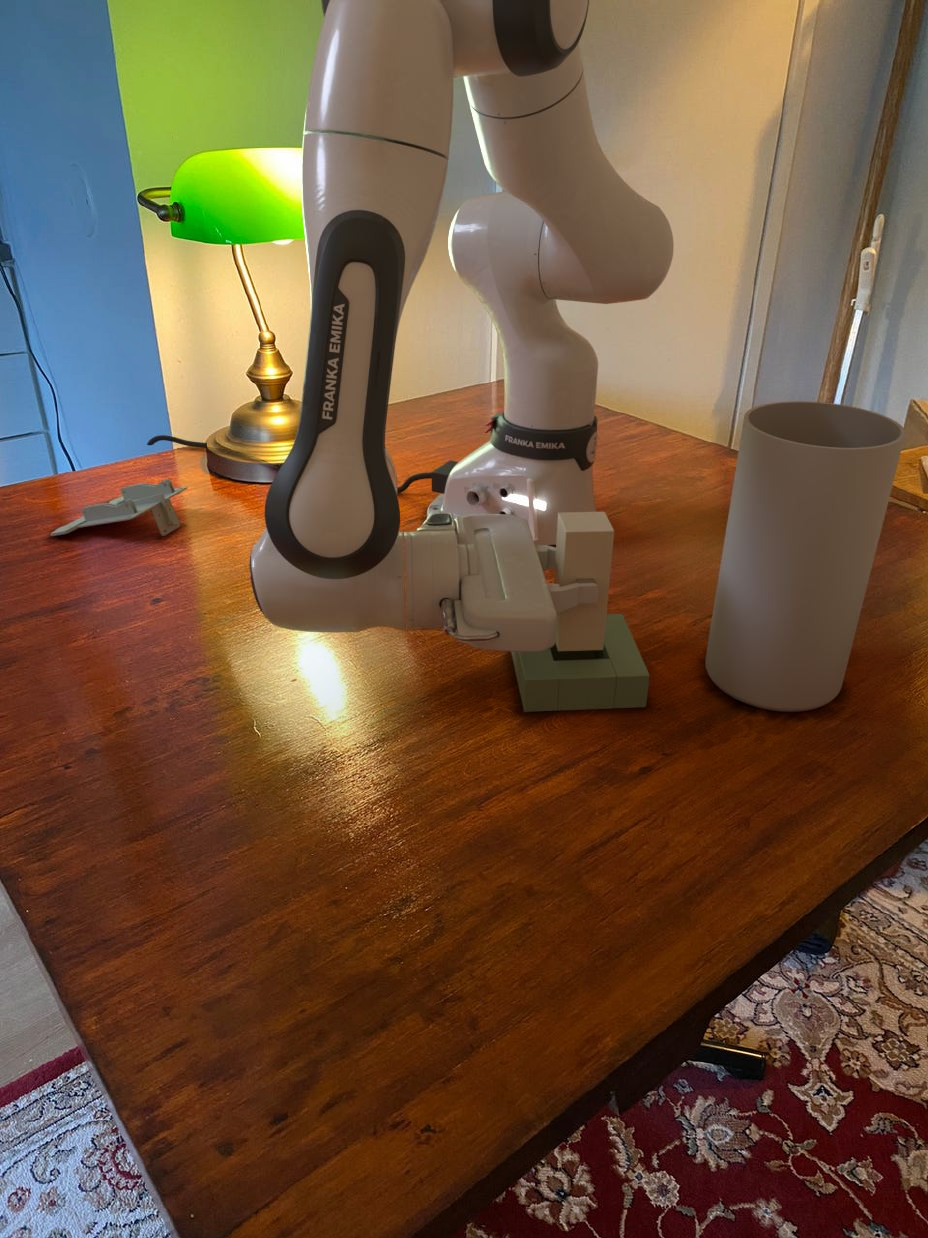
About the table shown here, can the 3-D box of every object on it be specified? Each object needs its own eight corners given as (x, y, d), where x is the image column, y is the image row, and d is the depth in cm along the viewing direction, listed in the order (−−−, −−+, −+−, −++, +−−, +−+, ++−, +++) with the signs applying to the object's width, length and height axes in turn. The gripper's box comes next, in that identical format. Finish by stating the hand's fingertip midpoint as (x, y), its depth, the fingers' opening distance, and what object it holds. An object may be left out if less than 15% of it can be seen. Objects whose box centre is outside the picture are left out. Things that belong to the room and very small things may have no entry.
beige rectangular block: (557, 651, 83) (565, 532, 77) (551, 628, 87) (558, 512, 81) (603, 650, 83) (614, 530, 77) (594, 627, 87) (604, 511, 81)
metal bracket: (197, 467, 119) (119, 509, 107) (213, 508, 121) (139, 554, 109) (118, 481, 125) (37, 522, 113) (135, 520, 128) (57, 564, 116)
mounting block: (523, 712, 82) (525, 680, 80) (510, 647, 92) (511, 616, 90) (646, 707, 83) (650, 675, 81) (619, 643, 92) (622, 613, 91)
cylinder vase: (822, 732, 79) (889, 460, 67) (685, 689, 85) (723, 431, 73) (853, 666, 89) (917, 416, 76) (727, 631, 94) (768, 393, 82)
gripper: (443, 606, 70) (619, 600, 71) (433, 503, 88) (574, 500, 89) (444, 674, 74) (612, 668, 74) (434, 561, 91) (570, 558, 92)
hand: (591, 575), depth 82 cm, fingers closed on beige rectangular block, 4 cm apart
